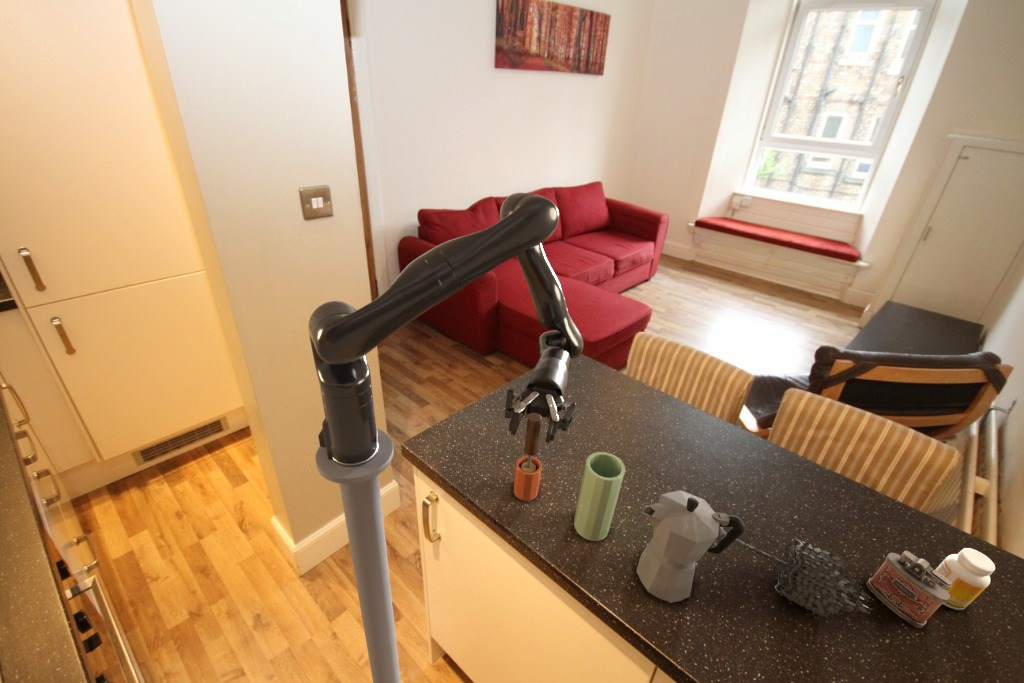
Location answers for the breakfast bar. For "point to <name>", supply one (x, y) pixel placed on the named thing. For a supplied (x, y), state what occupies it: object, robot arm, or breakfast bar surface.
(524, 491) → the pot
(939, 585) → the lighter
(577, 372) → the breakfast bar surface
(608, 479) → the vase
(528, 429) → the bottle brush
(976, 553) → the supplement bottle
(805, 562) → the massage brush
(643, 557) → the coffeepot
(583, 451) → the breakfast bar surface
